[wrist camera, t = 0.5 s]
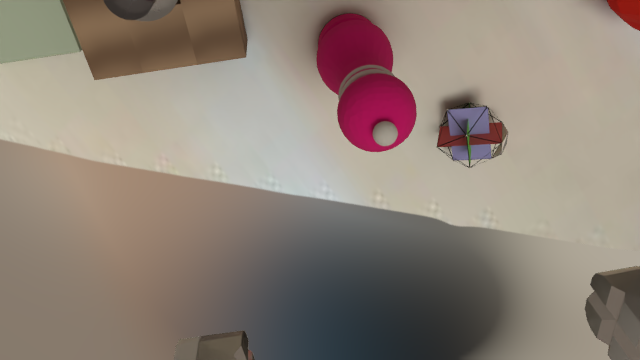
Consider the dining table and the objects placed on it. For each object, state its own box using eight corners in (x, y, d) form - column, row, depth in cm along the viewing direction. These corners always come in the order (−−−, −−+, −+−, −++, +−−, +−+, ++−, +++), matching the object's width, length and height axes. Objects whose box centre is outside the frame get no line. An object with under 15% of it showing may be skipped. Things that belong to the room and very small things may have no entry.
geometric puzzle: (424, 167, 59) (485, 188, 53) (415, 116, 55) (480, 133, 49) (460, 135, 62) (522, 152, 56) (455, 85, 58) (520, 98, 52)
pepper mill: (300, 29, 51) (318, 122, 34) (365, -6, 49) (417, 72, 33) (332, 88, 54) (361, 197, 38) (393, 57, 53) (452, 156, 37)
